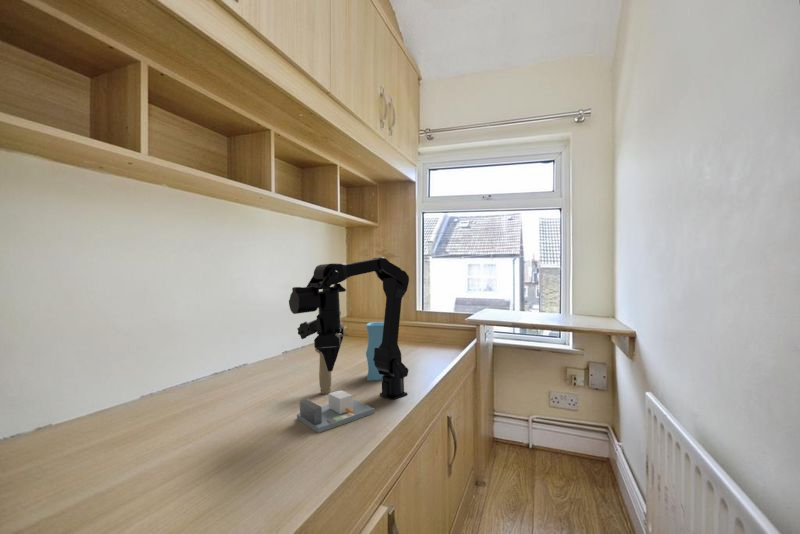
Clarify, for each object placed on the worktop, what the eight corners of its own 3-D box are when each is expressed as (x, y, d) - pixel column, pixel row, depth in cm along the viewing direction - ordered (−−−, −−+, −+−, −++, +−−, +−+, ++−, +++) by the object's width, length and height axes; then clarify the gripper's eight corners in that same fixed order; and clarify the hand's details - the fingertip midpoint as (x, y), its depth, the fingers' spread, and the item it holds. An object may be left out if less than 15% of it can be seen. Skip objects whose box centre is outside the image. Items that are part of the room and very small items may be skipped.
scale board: (350, 401, 103) (350, 396, 104) (374, 413, 95) (374, 407, 95) (296, 418, 92) (296, 412, 92) (318, 433, 83) (318, 426, 83)
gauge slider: (341, 404, 98) (340, 390, 98) (359, 412, 91) (358, 397, 91) (328, 408, 95) (328, 393, 95) (346, 417, 89) (345, 401, 89)
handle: (328, 396, 109) (327, 349, 109) (313, 393, 112) (312, 347, 112) (338, 391, 113) (337, 346, 114) (323, 389, 116) (322, 344, 117)
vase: (388, 380, 124) (386, 324, 125) (366, 380, 125) (365, 325, 125) (390, 373, 132) (388, 322, 133) (370, 374, 133) (368, 322, 133)
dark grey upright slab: (307, 414, 92) (306, 399, 92) (321, 423, 86) (321, 406, 86) (300, 416, 91) (299, 401, 91) (314, 425, 85) (314, 409, 85)
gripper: (305, 307, 102) (307, 359, 102) (291, 315, 84) (294, 379, 84) (342, 305, 104) (345, 357, 103) (337, 312, 85) (340, 375, 85)
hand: (332, 366), depth 94 cm, fingers open, 9 cm apart
